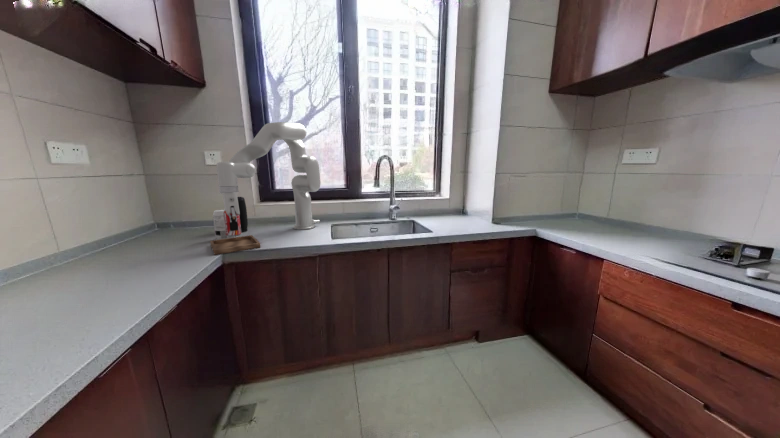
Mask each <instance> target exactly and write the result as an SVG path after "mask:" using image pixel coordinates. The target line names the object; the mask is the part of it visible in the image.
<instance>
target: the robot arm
mask: <svg viewBox="0 0 780 438" xmlns="http://www.w3.org/2000/svg"><path fill="white" fill-rule="evenodd" d="M306 136H307V129H306V128H305V125H303V124H301V123H297V122H284V121H283V122H282V121H277V122H268V123H265V124H264V125H263V126H262V127H261V129H260V130H259V131H258V132H257V134H256V135H255V137H254V138H253V139H252V141H250V142H248V144H247V145H245V146H243V147H242V148H241V149H239V150H238V151H237V152H236V153H235V154H234V155H233V156H232V157H231V158H230V160H229V161H219V162H217V163H216V173H217V184H218V193H219V194H220V195H222V201H223V202H222V203H223V208H224V209H225V211H226V213H227V215H228V216H229V218H230V222H229V224H230V231H236V230H238V222H237V217H236V214H238V215H240V211H239V204H238V198H237V197H238V194H239V193H240V192H239V191H240V190H239V182H238V179H251V178H252V177H254V176H255V175H256V172H257V168H256V166H255V165H254V164H253V163H251V162H252V161H254V160H256V159H260V158H261V157H264V156H265V155H267V154H268V153H269V152H270V151H271V149H272V147H273V146H274V145H275V143H276V142H277V141H280V140H282V141H284V143H286V144H287V146H288V149H289V153H290V160H291V167H292V170H293V171H294V172H295V173H301V174H298V175H295V176H293V177H292V179H291V188H292V191H293V192H292V193H293V199H294V200H293V201H294V210H295V211H294V212H295V213H294V214H295V216H294V217H295V225H293V229H294V230H300V231H301V230H310V229H311V230H312V229H314V228H315V227H316V224H320V223H321V221H320V219H313V213H312V212H313V211H312V210H313V209H312V208H313V207H312V198H311V197H312V196H311V194H310V192H311V193H316V192H318V191H319V190H320V188H321V172H320V166H319V165H320V164H319V162H318V160H317V158H316V157H314V156H312V155H307V152H306V146H305V144H304V142H303V141H302V140H304V139H305V138H306ZM302 173H303V174H302ZM224 209H223V210H224ZM230 213H232V215H230Z"/></svg>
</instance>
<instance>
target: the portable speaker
mask: <svg viewBox="0 0 780 438" xmlns="http://www.w3.org/2000/svg"><path fill="white" fill-rule="evenodd" d="M237 198H238V204H239V211H240V215H239V216H240V225H241V232H243V231H245V232H247V231H248V227H249V225H248V224H249V222H248V219H249V218H248V212H247V211H248V210H247V205H246V200H245V197H243V196H237Z"/></svg>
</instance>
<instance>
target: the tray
mask: <svg viewBox="0 0 780 438" xmlns="http://www.w3.org/2000/svg"><path fill="white" fill-rule="evenodd" d="M209 242H210V247H211V250H212V252H213V255H214V256H218V255H224V254H225V255H226V254H230V253H231V254H232V253H236V252H244V251H249V250H248V249H250V250H253V249H254V248H256V249H260V247H262V246H261V242H260V241H258V239H257V238H256V237H255V236H253V234H251V235H244V236H243V235H242V236H235V237H234V238H228V239H221V240H216V239H213V240H210V241H209Z"/></svg>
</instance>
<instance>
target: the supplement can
mask: <svg viewBox="0 0 780 438" xmlns="http://www.w3.org/2000/svg"><path fill="white" fill-rule="evenodd" d="M224 210H225V209H216V210H213V213H212V218H213V219H212V220H213V228H214V234H215V240H221V239H228V238H235V237H236V236H234V237H229V236H227V235H226V232H225V223H224V215H223V213H224Z"/></svg>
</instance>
